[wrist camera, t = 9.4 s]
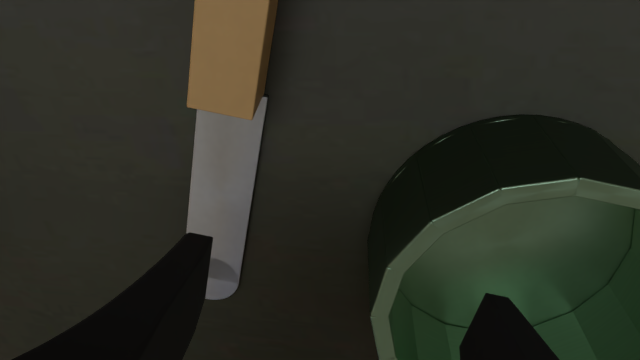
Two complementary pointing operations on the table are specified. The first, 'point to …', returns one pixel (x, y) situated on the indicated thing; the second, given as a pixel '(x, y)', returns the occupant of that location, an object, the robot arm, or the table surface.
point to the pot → (509, 240)
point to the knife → (227, 126)
